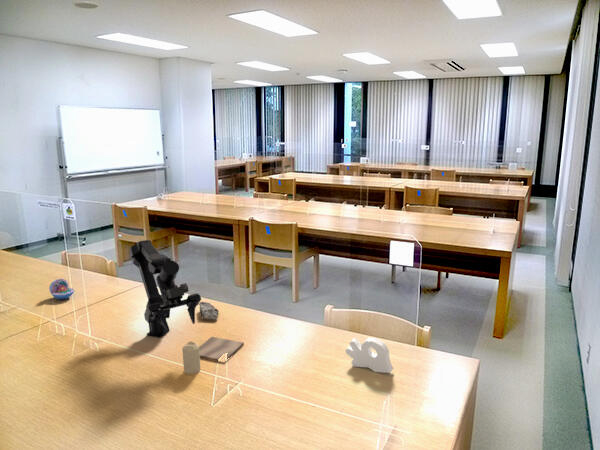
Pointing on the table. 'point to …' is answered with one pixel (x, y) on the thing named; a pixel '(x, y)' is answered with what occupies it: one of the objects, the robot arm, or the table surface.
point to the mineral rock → (208, 311)
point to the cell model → (60, 289)
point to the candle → (191, 358)
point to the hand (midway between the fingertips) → (181, 326)
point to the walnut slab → (218, 348)
